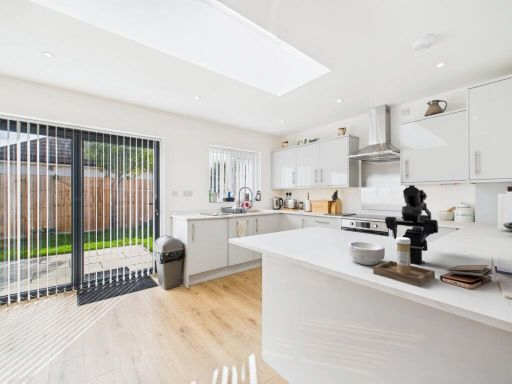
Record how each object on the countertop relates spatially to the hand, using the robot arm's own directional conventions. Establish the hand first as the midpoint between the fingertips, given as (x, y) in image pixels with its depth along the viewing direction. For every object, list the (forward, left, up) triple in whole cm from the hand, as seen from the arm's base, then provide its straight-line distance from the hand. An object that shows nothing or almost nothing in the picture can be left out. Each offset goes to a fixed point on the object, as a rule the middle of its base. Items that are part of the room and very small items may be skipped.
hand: (407, 240), depth 96 cm
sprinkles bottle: (+8, +2, -12) cm, 14 cm away
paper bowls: (+3, -16, -13) cm, 21 cm away
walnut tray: (+8, +2, -13) cm, 15 cm away
